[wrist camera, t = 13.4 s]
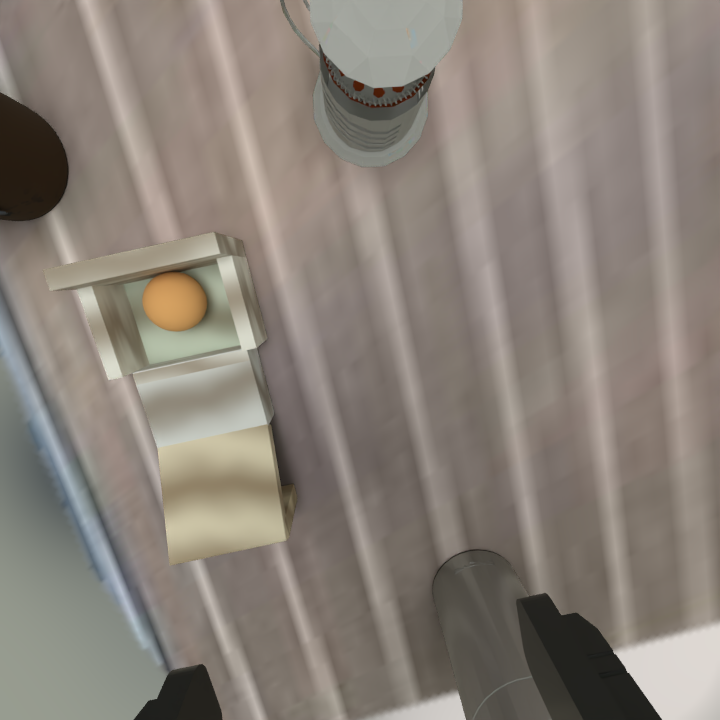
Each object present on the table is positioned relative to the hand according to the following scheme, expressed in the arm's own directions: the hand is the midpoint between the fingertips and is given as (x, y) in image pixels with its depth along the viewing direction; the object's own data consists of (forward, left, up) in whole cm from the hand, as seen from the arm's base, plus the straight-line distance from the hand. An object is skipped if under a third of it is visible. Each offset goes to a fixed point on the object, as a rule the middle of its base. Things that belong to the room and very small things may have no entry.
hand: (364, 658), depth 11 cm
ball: (+10, +13, -27) cm, 32 cm away
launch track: (+2, +13, -30) cm, 33 cm away
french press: (+23, -6, -30) cm, 39 cm away
